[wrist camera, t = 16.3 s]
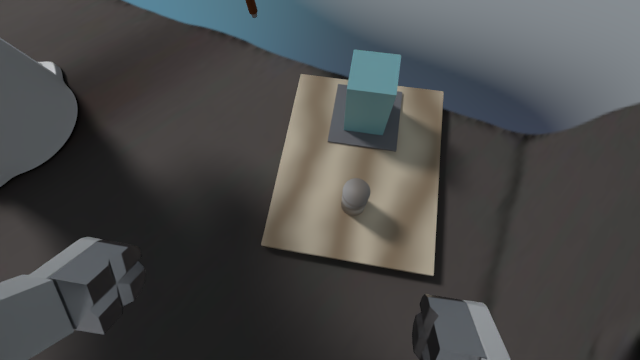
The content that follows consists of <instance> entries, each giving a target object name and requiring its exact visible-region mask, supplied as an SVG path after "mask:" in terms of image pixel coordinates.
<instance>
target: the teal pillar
mask: <svg viewBox="0 0 640 360" xmlns="http://www.w3.org/2000/svg"><path fill="white" fill-rule="evenodd" d="M400 60H401V55H396V54H388V53H379V52H370V51H362V50H354V51H353V57H352V63H351V68H350V74H349V80H348V85H347V94H346V107H345V120H344V130H347V131H354V132H361V133H368V134H376V135H383V133H384V130H385V127H386V124H387V121H388V119H389V116H390V113H391V110H392V107H393V104H394V101H395V98H396V95H397V87H398V78H399V69H400Z"/></svg>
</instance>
